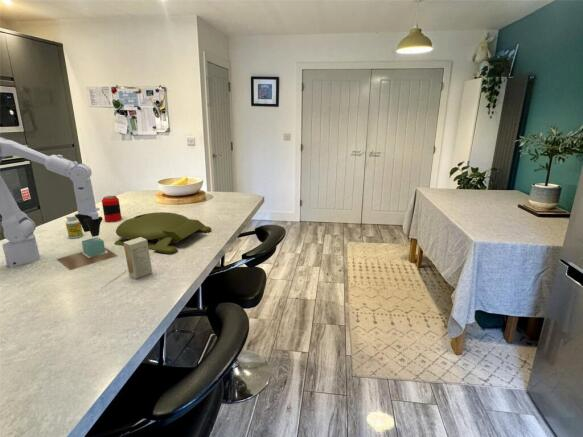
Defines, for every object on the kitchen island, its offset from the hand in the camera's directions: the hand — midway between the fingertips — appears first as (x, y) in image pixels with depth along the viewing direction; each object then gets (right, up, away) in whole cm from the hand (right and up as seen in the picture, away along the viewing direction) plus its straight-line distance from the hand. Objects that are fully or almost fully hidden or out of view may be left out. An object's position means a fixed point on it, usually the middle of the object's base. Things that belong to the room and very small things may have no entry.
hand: (91, 233), depth 126 cm
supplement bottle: (-20, -2, +22) cm, 30 cm away
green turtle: (+17, -3, +22) cm, 28 cm away
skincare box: (+24, -13, -12) cm, 30 cm away
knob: (0, -7, +2) cm, 8 cm away
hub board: (0, -10, -1) cm, 10 cm away
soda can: (-15, +5, +45) cm, 48 cm away
